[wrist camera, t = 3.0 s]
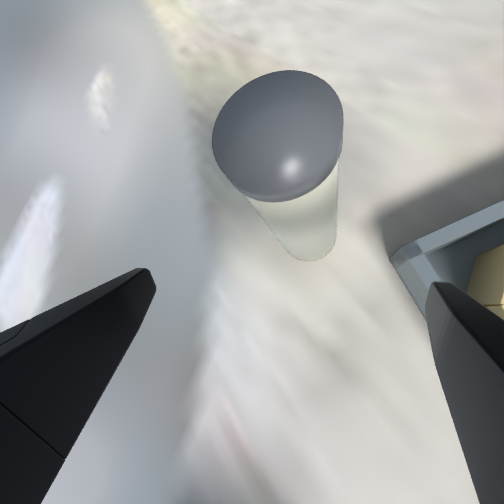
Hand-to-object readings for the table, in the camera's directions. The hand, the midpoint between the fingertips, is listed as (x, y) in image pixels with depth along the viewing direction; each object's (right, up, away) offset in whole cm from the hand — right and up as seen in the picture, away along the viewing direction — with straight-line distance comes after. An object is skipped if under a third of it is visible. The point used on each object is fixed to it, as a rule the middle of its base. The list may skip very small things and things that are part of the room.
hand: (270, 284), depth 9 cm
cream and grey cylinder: (+4, +2, +12) cm, 12 cm away
